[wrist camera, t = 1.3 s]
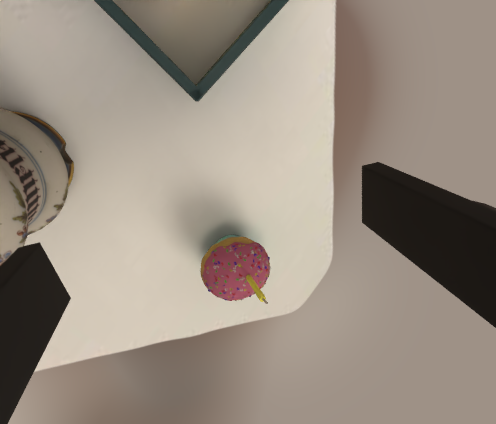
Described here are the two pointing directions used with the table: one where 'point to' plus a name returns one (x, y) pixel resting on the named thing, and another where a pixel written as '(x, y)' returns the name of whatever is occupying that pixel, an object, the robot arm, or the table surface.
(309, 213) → the table surface
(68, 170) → the apothecary jar
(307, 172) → the table surface
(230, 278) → the cupcake
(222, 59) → the rectangular frame
